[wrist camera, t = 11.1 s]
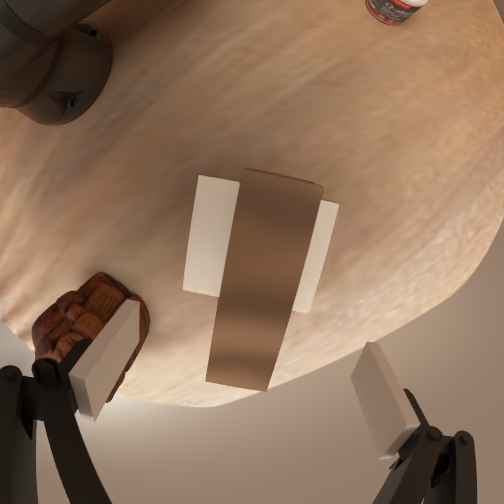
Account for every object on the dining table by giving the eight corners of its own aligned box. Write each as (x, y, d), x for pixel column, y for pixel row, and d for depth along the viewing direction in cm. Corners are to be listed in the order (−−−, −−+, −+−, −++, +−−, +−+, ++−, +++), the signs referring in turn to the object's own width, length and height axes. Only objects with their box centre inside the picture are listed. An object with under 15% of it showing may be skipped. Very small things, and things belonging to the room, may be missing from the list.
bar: (246, 167, 24) (242, 169, 19) (311, 181, 24) (324, 187, 19) (212, 349, 29) (205, 381, 24) (265, 358, 29) (266, 391, 25)
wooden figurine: (164, 314, 38) (113, 409, 21) (144, 342, 40) (94, 432, 23) (97, 261, 36) (12, 327, 19) (81, 293, 38) (7, 362, 21)
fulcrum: (200, 174, 33) (180, 180, 24) (337, 203, 33) (362, 218, 25) (184, 286, 37) (164, 322, 28) (307, 309, 37) (319, 350, 29)
